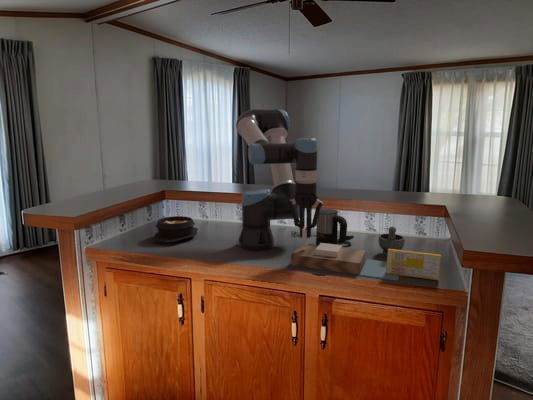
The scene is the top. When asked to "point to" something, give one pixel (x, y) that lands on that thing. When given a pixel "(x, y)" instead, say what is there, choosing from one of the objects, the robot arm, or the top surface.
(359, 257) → the panel
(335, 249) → the tile
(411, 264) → the candy box
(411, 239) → the top surface
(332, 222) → the milk frother
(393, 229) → the mortar and pestle
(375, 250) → the top surface
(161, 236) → the casserole
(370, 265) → the mat
